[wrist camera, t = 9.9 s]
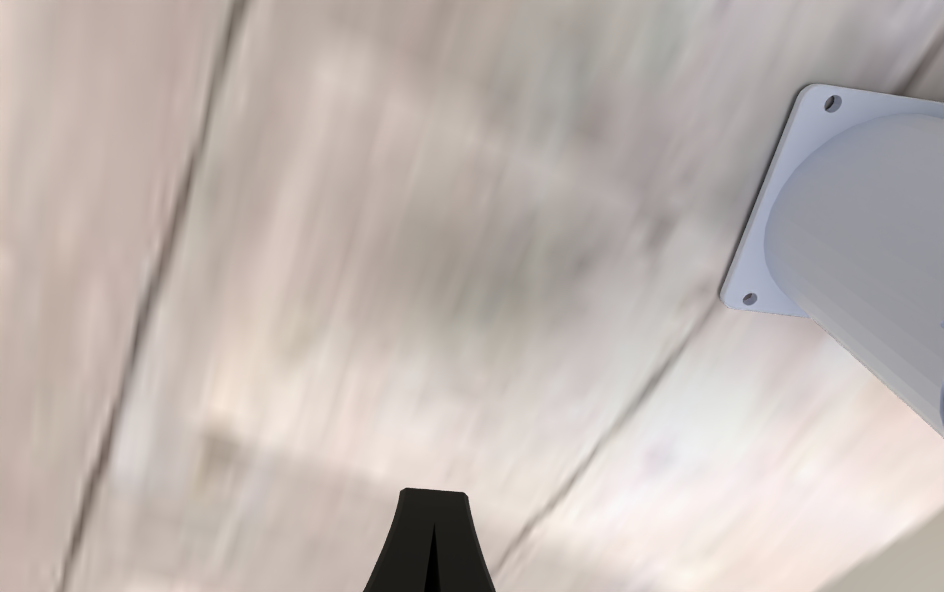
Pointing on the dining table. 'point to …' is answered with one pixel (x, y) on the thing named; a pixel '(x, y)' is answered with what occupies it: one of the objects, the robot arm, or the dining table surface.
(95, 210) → the dining table surface
